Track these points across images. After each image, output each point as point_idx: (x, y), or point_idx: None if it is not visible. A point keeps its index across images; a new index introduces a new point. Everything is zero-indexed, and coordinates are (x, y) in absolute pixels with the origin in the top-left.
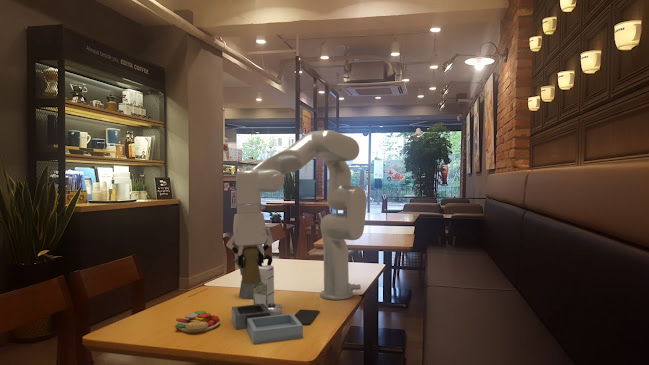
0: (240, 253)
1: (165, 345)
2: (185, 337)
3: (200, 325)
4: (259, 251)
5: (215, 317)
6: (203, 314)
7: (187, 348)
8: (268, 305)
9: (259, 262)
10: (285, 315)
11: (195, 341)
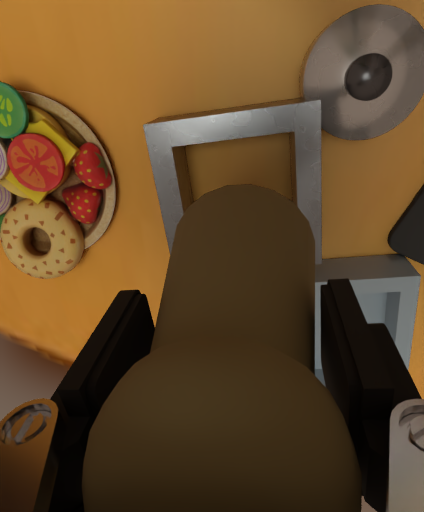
0: (79, 499)
1: (2, 322)
2: (34, 279)
3: (58, 276)
4: (372, 488)
5: (89, 183)
6: (28, 156)
7: (69, 353)
8: (347, 88)
9: (326, 387)
10: (381, 292)
11: (75, 315)
